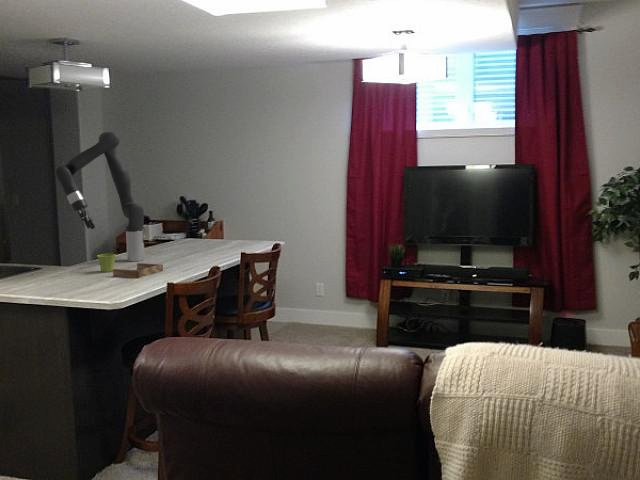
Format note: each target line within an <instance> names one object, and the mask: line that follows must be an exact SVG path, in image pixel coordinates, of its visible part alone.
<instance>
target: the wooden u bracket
mask: <svg viewBox="0 0 640 480" xmlns="http://www.w3.org/2000/svg"><path fill="white" fill-rule="evenodd" d="M163 268H164V266H163V264H159V263H143V262H141V263H140V262H138V263H136V270H135V269H122V268H121V269H120V268H114V269H113V271H112V275H113V277H121V278H134V279H140V278H144V277H147V275H148V276H151V275H155V274H158V273H161V271H162V272H163V270H164V269H163ZM157 272H158V273H157ZM154 273H155V274H154ZM150 274H151V275H150ZM143 276H144V277H143Z"/></svg>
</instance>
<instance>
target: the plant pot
mask: <svg viewBox="0 0 640 480" xmlns="http://www.w3.org/2000/svg"><path fill="white" fill-rule="evenodd" d="M116 256H117V254H115V253H102V254H98V255H96V257H97V259H98V261H99V266H100V271H101V273H103V272H104V273H111V272H113V269H115V260H116Z"/></svg>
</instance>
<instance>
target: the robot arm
mask: <svg viewBox="0 0 640 480" xmlns="http://www.w3.org/2000/svg"><path fill="white" fill-rule="evenodd" d="M120 140H121V139H120V136H119V135H118V134H117V133H115V132H112V131H105V132H104V131H103V132H101V134H99V136H98V142H97V143H96V144H94V145H92V146H90V147H89V148H87V149H86V150H83V151H81V152H79V153H78V154H77V155H75V156H74V157H72V158H70V159H69V160H68V162H67V163H66V164H65V165H59V166H57V168H56V169H55V172H54V173H55V174H54V176H55V179H56V180H57V181H58V182H60V184H61V185H62V190H63V192H64V194H65V195H66V198H67V201H68V203H69V205H70V206H71V209H72V210H73V212H74V213H78V215H79V218H80V219H81V221H82V222H83V223H84V225H85V226H86V228H87V229H91V230H93V229H95V228H96V226H95V223H94V222H93V218H92V217H91V216H92V215H91V214H90V212H89V211H88V210H86V208H88V203H87V202H86V199H85V197H84V196H83V193H82V192H81V191H80V190H79V187H78V186H77V184H76V182H75V180H74V178H73V176H74V175H75V174H77V172H78V171H80V170H82V169H83V168H84V167H86V166H87V165H89V164H90V163H91V162H93V161H95V160H96V159H97V158H98V157H100V156H102V155H103V154H104V157H105V158H106V162H107V165H108V169H109V171H110V175H111V177H112V181H113V183H114V186H115V190H116V192H117V195H118V198H119V201H120V202H119V203H120V206H121V210H122V214H123V216H124V217H125V218H127V219H128V224H127V225H126V226H125V236H126V237H125V238H126V260H127V262H140V261H144V260H146V259H145V243H144V234H143V233H144V232H143V230H144V229H143V227H144V223H145V220H144V219H145V215H144V208H143V206H142V205H141V204H139V203H137V202H136V203H135V202H134V198H133V197H132V191H131V190H132V189H131V187H132V186H131V185H132V182H131V177H130V174H129V170H128V169H127V167H126V164H125V162H123V160H122V159H121V157H120V155H119V153H118V148H117V147H118V146H119V144H120Z"/></svg>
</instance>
